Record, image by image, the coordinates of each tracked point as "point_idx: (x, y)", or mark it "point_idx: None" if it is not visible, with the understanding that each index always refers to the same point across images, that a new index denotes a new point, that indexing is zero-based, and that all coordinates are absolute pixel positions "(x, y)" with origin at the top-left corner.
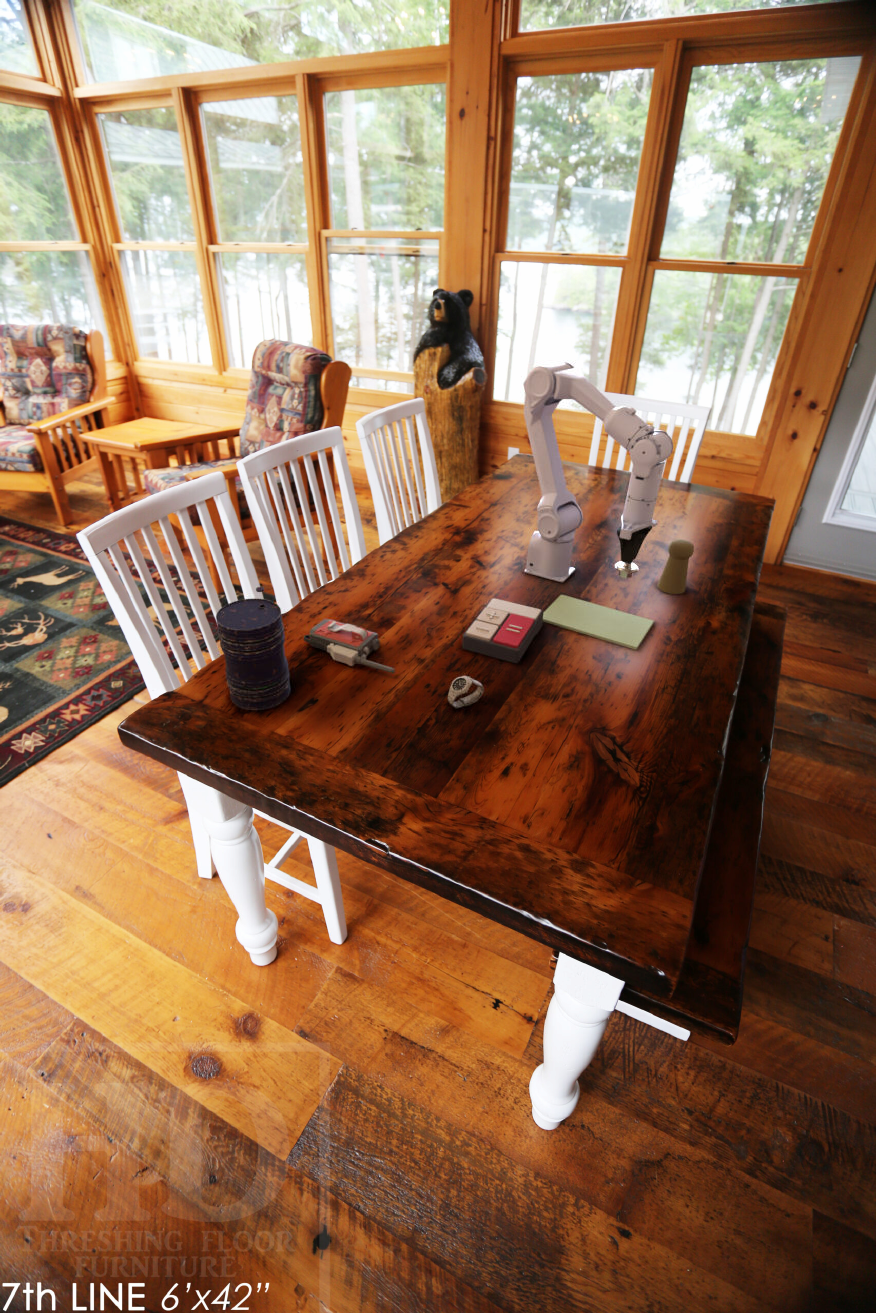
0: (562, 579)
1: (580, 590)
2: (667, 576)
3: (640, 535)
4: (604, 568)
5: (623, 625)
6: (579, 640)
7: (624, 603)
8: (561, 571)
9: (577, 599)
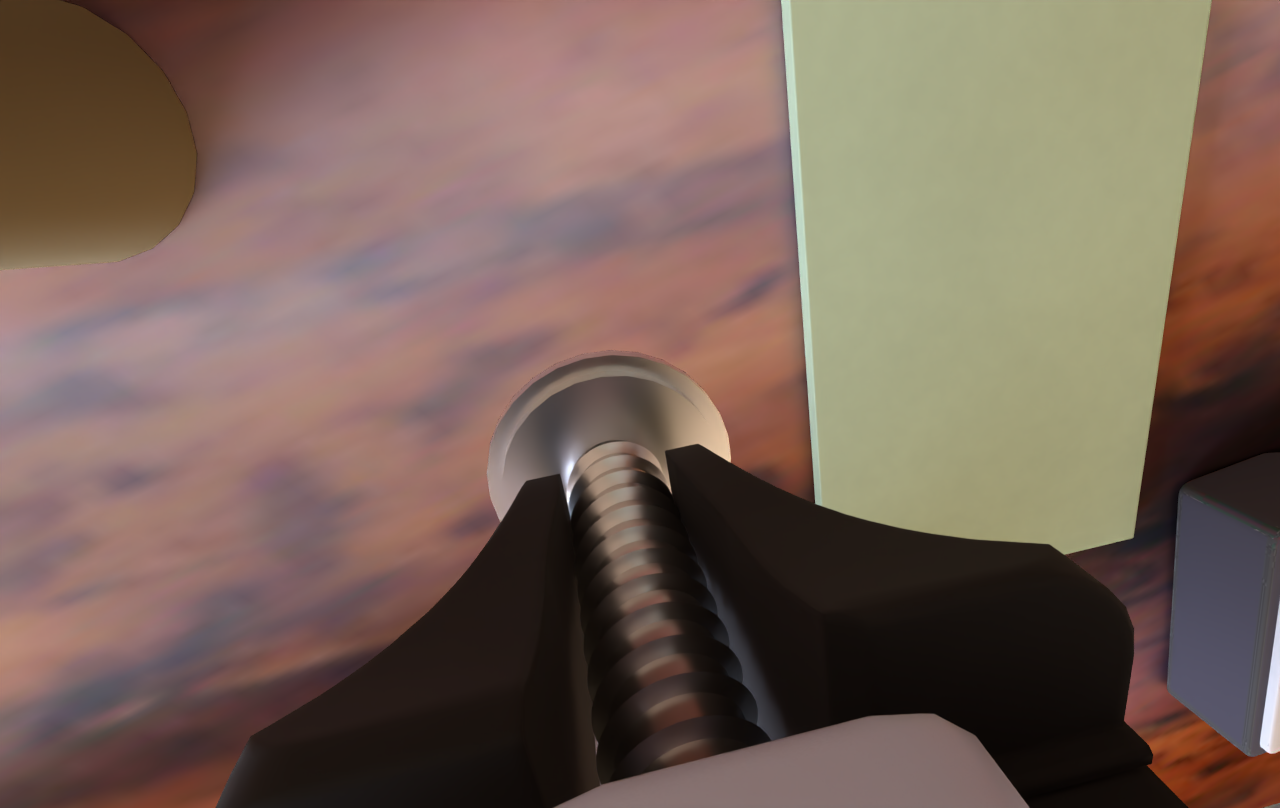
0: None
1: None
2: (92, 170)
3: (1031, 674)
4: (255, 655)
5: (984, 131)
6: (1227, 264)
7: (636, 298)
8: None
9: None
